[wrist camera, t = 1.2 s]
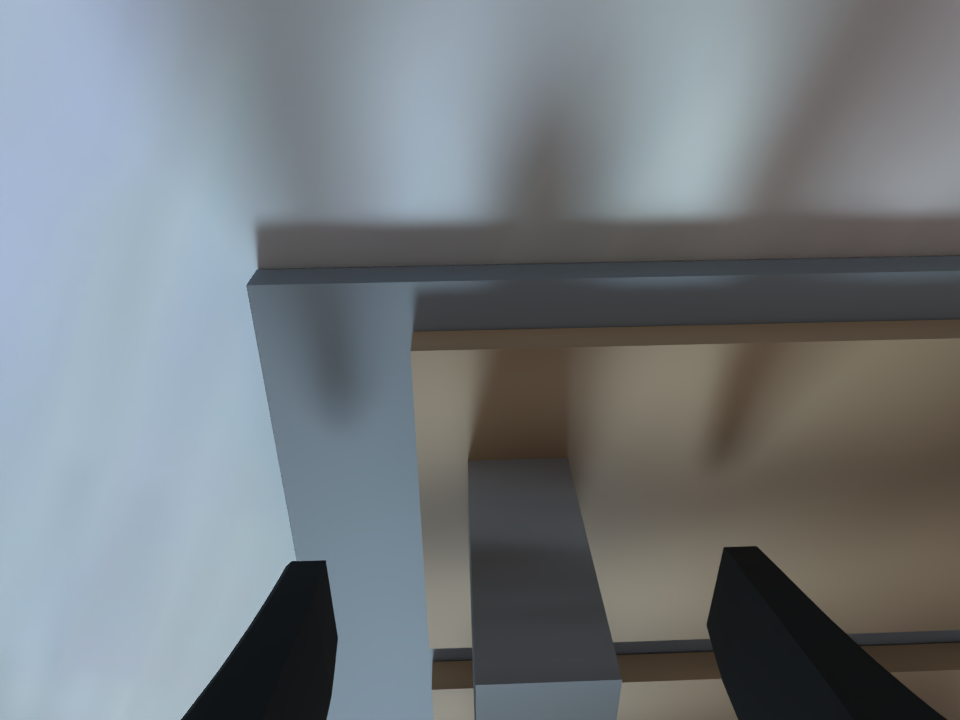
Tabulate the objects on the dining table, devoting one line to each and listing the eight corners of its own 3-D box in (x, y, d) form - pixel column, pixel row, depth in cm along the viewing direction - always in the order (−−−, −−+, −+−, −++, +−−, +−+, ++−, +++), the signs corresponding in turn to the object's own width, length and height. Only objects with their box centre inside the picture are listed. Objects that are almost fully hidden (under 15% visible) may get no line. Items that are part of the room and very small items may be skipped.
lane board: (1333, 789, 24) (1360, 813, 23) (354, 832, 23) (351, 859, 22) (1899, 237, 14) (1973, 249, 14) (257, 269, 13) (246, 285, 13)
